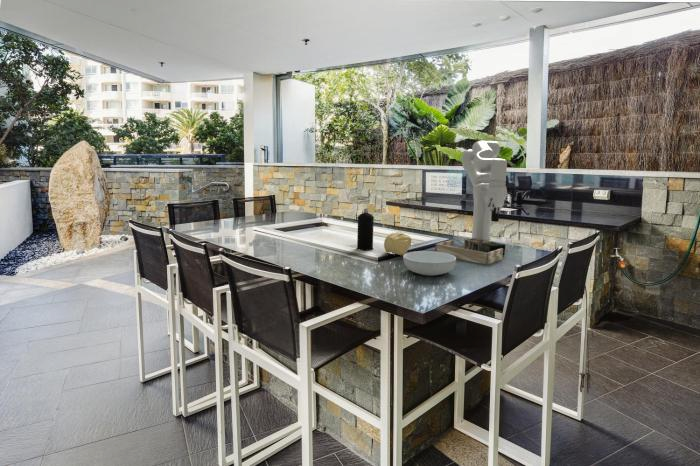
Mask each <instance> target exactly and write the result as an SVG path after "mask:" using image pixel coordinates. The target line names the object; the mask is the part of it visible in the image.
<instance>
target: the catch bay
mask: <svg viewBox="0 0 700 466" xmlns="http://www.w3.org/2000/svg"><path fill="white" fill-rule="evenodd" d="M434 251H436V252H443V253H448V254H451V255H453V256H455V257H456V260H457V259H458V260H463V261H468V262H473V263H478V264H481V265H482V264H483V265H490V264H492V263H496V262H499V261H501V260H503V258H504V257H503V256H504V255H503V248H500V249H497V250H494V251H491V252H488V253H486V252H480V251H474V250H469V249H464V247H457V246H454V240H453V239H450V240H447V241H442V242H439V243H435V249H434Z"/></svg>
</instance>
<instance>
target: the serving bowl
mask: <svg viewBox="0 0 700 466" xmlns="http://www.w3.org/2000/svg"><path fill="white" fill-rule="evenodd" d="M402 259H403V263H404V266H405V267H406V268H407V269H408V270H410V271H411V272H413V273H414V274H415V273H416V274H419V275H422V276H428V277H434V276H438V275H444V274H447V273H449V272H450V271H451V270H453V268H454V267H455V265H456V262H457V259H456V257H455V256H453V255H451V254H448V253H443V252H436V251H435V250H434V251H431V250H417V251H410V252H406V253H405V254H404V255H402Z"/></svg>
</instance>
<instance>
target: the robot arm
mask: <svg viewBox="0 0 700 466" xmlns="http://www.w3.org/2000/svg"><path fill="white" fill-rule="evenodd" d="M500 151H501V147H500V144H499V142H498V141H494V140H477V141H476V142H474V143H473V145H472V148H469V149H467V150H464V151H463V152H462V153H461V165H462V168H463V170H464V172H465V173H466V174H467V175H468V178H469V180H470V182H471V185H472V186H473V190H472V195H473V212H472V213H473V215H472V226H471V227H472V228H471V229H472V230H471V237H468V239H472V238H474V239H475V238H479V239H483V240H487V241H491V242H494V241H493V238H491V237H492V236H493V232H491V227H492V225H491V224H492V222H499V221H500V220H499V219H500V213H501V209H502V207H504V205H505V199H506V198H507V197H508V189H507V186H506V184H507V183H506V182H507V171H508V170H507V167H508V160H507V159H504V158H498V156H499V154H500Z"/></svg>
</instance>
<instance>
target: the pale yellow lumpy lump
mask: <svg viewBox="0 0 700 466" xmlns="http://www.w3.org/2000/svg"><path fill="white" fill-rule="evenodd" d="M383 245H384V250H385V252H386V253H387V252H392V253H396V254H398V255H400V256H403V255H404V254H406V253H408V250H409V249H410V247H411V245H412V237H411V236H410V235H409V234H406V233H404V232H402V231H395V232H392V233H390V234H388V235H387V236H386V237H385V239H384V242H383Z"/></svg>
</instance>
